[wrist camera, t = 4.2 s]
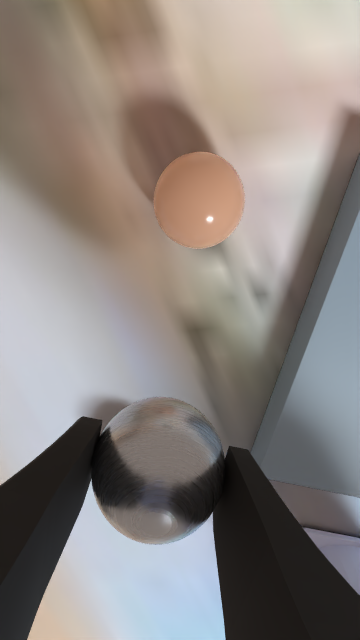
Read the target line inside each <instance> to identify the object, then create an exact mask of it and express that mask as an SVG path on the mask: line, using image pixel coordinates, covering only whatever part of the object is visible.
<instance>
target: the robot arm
mask: <svg viewBox="0 0 360 640" xmlns="http://www.w3.org/2000/svg"><path fill="white" fill-rule="evenodd" d="M101 426H102V420H98V419H93V418H88V417H81V418H79V419H78V420H77V421H76V422H75V423H74V424H73V425H72V426H71V427H70V428H69V429H68V430H67V431H66V432H65V433H64V434H63V435H62V436H61V437H60V438H58V439H57V440H56V441H55V442H54V443H53V444H52V445H51V446H49V447H48V448H47V449H46V450H45V451H44V452H42V453H41V454H40V455H39V456H38V457H36V458H35V459H34V460H33V461H32V462H30V463H29V464H28V465H27V466H25V467H24V468H23V469H21V470H20V471H19V472H17V473H16V474H15V475H14V476H12V477H11V478H10V479H8V480H7V481H6V482H4V483H3V484H2V485H0V640H27V638H28V635H29V632H30V630H31V627H32V624H33V621H34V618H35V616H36V613H37V610H38V608H39V605H40V603H41V600H42V598H43V595H44V593H45V590H46V588H47V586H48V583H49V581H50V579H51V576H52V574H53V572H54V570H55V567H56V565H57V563H58V560H59V558H60V556H61V554H62V551H63V549H64V547H65V545H66V542H67V540H68V538H69V535H70V533H71V531H72V529H73V526H74V524H75V522H76V519H77V517H78V515H79V513H80V510H81V508H82V506H83V503H84V500H85V497H86V494H87V491H88V487H89V484H90V481H91V469H92V459H93V455H94V451H95V448H96V445H97V442H98V440H99V437H100V431H101ZM213 532H214V541H215V549H216V558H217V566H218V575H219V583H220V591H221V599H222V608H223V616H224V625H225V637H226V640H360V538H357V537H351V536H346V535H341V534H336V533H331V532H326V531H320V530H315V529H310V528H302V527H301V525H300V524H299V523H298V521H297V520H296V519H295V517H294V516H293V515H292V513H291V512H290V511H289V509H288V508H287V506H286V505H285V504H284V502H283V501H282V499H281V498H280V496H279V495H278V494H277V492H276V491H275V489H274V488H273V486H272V485H271V483H270V482H269V480H268V479H267V477H266V476H265V474H264V473H263V471H262V470H261V468H260V467H259V465H258V464H257V462H256V461H255V459H254V458H253V456H252V455H251V453H250V452H249V450H247V449H242V448H237V447H232V446H229V449H228V452H227V455H226V458H225V479H224V484H223V489H222V493H221V496H220V498H219V500H218V503H217V505H216V507H215V509H214V510H213Z"/></svg>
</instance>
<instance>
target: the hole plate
mask: <svg viewBox="0 0 360 640" xmlns="http://www.w3.org/2000/svg"><path fill="white" fill-rule="evenodd" d="M251 455H252V456H253V458H254V459H255V461H256V462H257V464H258V465H259V467H260V468H261V470H262V471H263V473H264V474H265V476H266V477H267V479H269V480H274V481H279V482H284V483H289V484H294V485H299V486H304V487H309V488H314V489H319V490H324V491H329V492H334V493H339V494H344V495H349V496H354V497H359V498H360V154H359V157H358V160H357V162H356V165H355V168H354V171H353V173H352V176H351V179H350V182H349V184H348V187H347V190H346V193H345V195H344V198H343V201H342V203H341V206H340V209H339V212H338V214H337V217H336V220H335V223H334V225H333V228H332V231H331V234H330V236H329V239H328V242H327V245H326V247H325V250H324V253H323V256H322V258H321V261H320V264H319V267H318V269H317V272H316V275H315V278H314V280H313V283H312V286H311V288H310V291H309V294H308V297H307V299H306V302H305V305H304V308H303V310H302V313H301V316H300V319H299V321H298V324H297V327H296V330H295V332H294V335H293V338H292V341H291V343H290V346H289V349H288V352H287V354H286V357H285V360H284V363H283V365H282V368H281V371H280V373H279V376H278V379H277V382H276V384H275V387H274V390H273V393H272V395H271V398H270V401H269V404H268V406H267V409H266V412H265V415H264V417H263V420H262V423H261V426H260V428H259V431H258V434H257V437H256V439H255V442H254V445H253V448H252V450H251Z"/></svg>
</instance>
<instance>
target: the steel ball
mask: <svg viewBox="0 0 360 640" xmlns="http://www.w3.org/2000/svg"><path fill="white" fill-rule="evenodd" d="M91 478H92V486H93V492H94V495H95V498H96V501H97V504H98V506H99V508H100V510H101V512H102V513H103V515H104V516H105V518H106V519H107V520H108V522H109V523H110V524H111V525H112V526H113V527H114V528H115V529H116V530H117V531H119V532H120V533H121V534H123V535H125V536H126V537H128V538H130V539H132V540H135V541H137V542H141V543H145V544H154V545H158V544H168V543H172V542H175V541H178V540H181V539H183V538H185V537H187V536H188V535H190V534H192V533H193V532H195V531H196V530H197V529H198V528H199V527H200V526H201V525H202V524H203V523H205V522H206V520H207V519H208V518H209V517H210V515H211V514H212V512H213V510H214V509H215V507H216V505H217V503H218V500H219V498H220V496H221V493H222V489H223V484H224V479H225V459H224V452H223V449H222V445H221V442H220V439H219V437H218V435H217V433H216V431H215V429H214V428H213V426H212V424H211V423H210V422H209V421H208V420H207V418H206V417H205V416H204V415H203V414H202V413H201V412H200V411H198V410H197V409H195V408H194V407H192V406H191V405H189V404H187V403H185V402H183V401H180V400H177V399H173V398H167V397H153V398H147V399H143V400H140V401H137V402H135V403H133V404H131V405H129V406H127V407H126V408H124V409H123V410H121V411H120V412H119V413H118V414H117V415H115V416H114V417H113V418H112V419H111V421H110V422H109V423H108V424H107V426H106V427H105V429H104V430H103V432H102V434H101V435H100V437H99V440H98V442H97V445H96V448H95V451H94V455H93V459H92V469H91Z"/></svg>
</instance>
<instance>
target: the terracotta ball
mask: <svg viewBox="0 0 360 640" xmlns="http://www.w3.org/2000/svg"><path fill="white" fill-rule="evenodd" d="M244 203H245V194H244V188H243V184H242V181H241V179H240V177H239V175H238V173H237V172H236V170H235V169H234V168H233V166H232V165H231V164H230V163H229V162H227V161H226V160H225V159H223V158H222V157H220V156H218V155H216V154H213V153H209V152H191V153H188V154H185V155H182V156H180V157H178V158H177V159H175V160H174V161H172V162H171V163H170V164H169V165H168V166H167V167H166V168H165V170H164V171H163V172H162V174H161V176H160V177H159V179H158V182H157V184H156V188H155V192H154V210H155V214H156V218H157V220H158V223H159V225H160V226H161V228H162V230H163V231H164V232H165V233H166V234H167V236H168V237H169V238H171V239H172V240H173V241H175V242H176V243H178V244H180V245H182V246H185V247H188V248H194V249H202V248H208V247H212V246H214V245H217V244H219V243H221V242H222V241H224V240H225V239H226V238H228V237H229V236H230V235H231V234H232V232H233V231H234V230H235V229H236V227H237V226H238V224H239V222H240V220H241V217H242V214H243V210H244Z"/></svg>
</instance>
